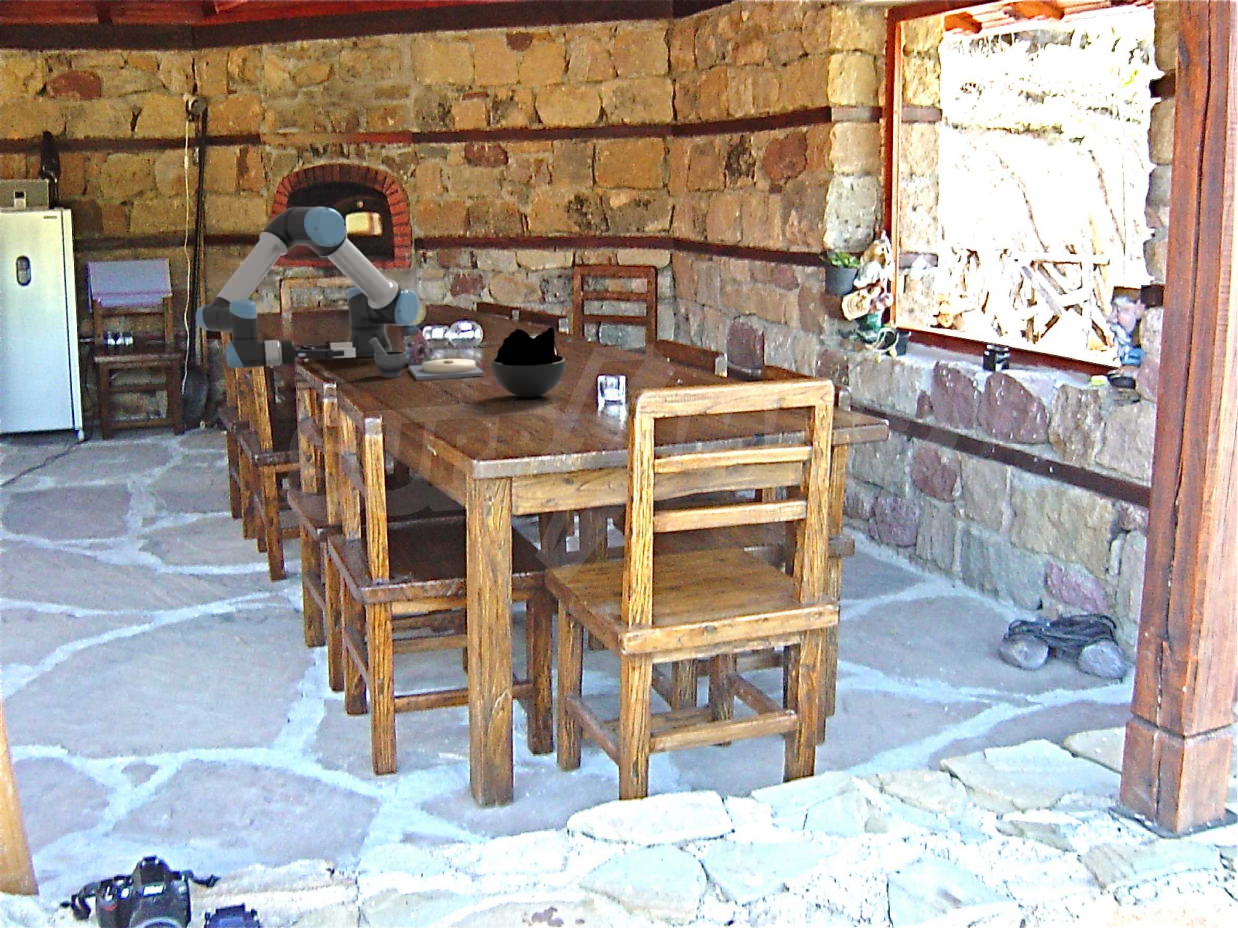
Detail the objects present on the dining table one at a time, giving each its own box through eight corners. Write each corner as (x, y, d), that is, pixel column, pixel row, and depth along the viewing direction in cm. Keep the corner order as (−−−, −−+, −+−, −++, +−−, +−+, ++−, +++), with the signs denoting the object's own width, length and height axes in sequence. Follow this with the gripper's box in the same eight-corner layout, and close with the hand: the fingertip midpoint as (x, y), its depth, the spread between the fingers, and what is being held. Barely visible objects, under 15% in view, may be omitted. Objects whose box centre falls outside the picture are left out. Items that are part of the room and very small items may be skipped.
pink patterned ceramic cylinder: (434, 360, 412) (410, 329, 412) (409, 380, 416) (386, 350, 415) (447, 355, 423) (424, 325, 422) (423, 375, 426) (400, 345, 426)
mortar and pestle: (401, 372, 405) (399, 333, 402) (412, 376, 397) (409, 336, 394) (366, 375, 400) (363, 336, 397) (376, 379, 392) (373, 339, 389)
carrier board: (408, 369, 409) (408, 357, 409) (472, 365, 414) (472, 354, 414) (416, 380, 389) (416, 367, 388) (483, 376, 394) (483, 363, 393)
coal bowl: (485, 403, 349) (482, 332, 345) (501, 390, 368) (499, 323, 364) (559, 403, 346) (557, 332, 342) (572, 390, 366) (570, 323, 362)
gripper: (281, 360, 401) (351, 356, 406) (282, 371, 378) (357, 367, 383) (279, 335, 399) (350, 332, 405) (280, 345, 376) (356, 342, 381)
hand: (354, 349), depth 394 cm, fingers open, 13 cm apart
